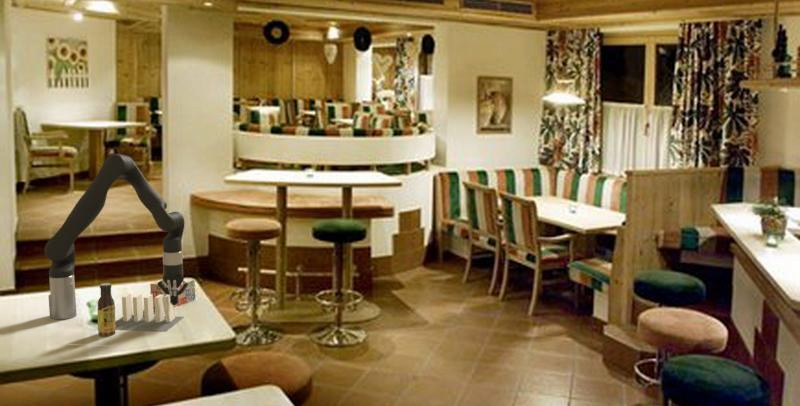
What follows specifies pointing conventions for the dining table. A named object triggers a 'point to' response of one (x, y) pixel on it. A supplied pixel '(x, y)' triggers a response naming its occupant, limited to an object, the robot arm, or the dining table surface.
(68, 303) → the robot arm
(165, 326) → the mat
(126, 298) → the domino
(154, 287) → the stack of blocks
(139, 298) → the domino
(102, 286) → the sauce bottle
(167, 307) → the domino
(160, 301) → the domino
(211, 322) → the dining table surface
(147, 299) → the domino
